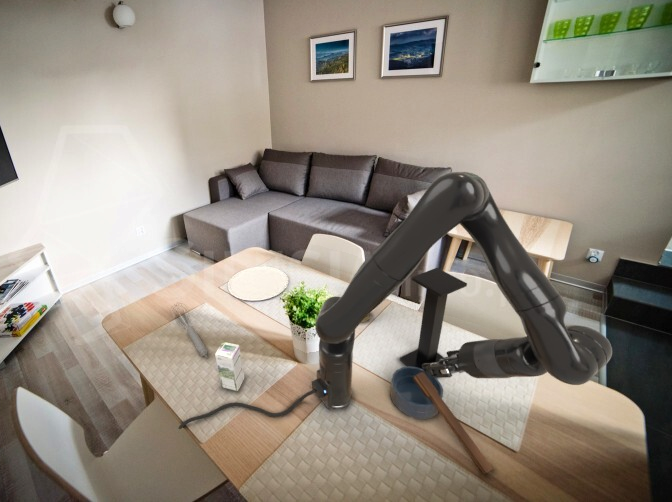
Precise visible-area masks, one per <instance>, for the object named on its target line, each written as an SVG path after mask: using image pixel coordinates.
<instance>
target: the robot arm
mask: <svg viewBox="0 0 672 502" xmlns="http://www.w3.org/2000/svg"><path fill="white" fill-rule="evenodd" d="M459 225H460V226H461V227H462V228H463V229H464V230H465V231H466V232H467V234H468V235H469V236H470V237H471V239H472V240H473V242H474V243H475V244H476V247H477V248H478V249H479V251H480V253H481V255H482V257H483V259H484V262H485V263H486V266H487V268H488V270H489V272H490V275H491V277H492V278H493V281H494V283H495V284H496V286H497V288H498V289H499V291H500V292H501V294H502V295H503V297H504V298H505V299H506V301H507V303H508V304H509V305H510V307H511V308H512V309H513V311H514V312H515V313H516V315H517V316H518V317H519V319H520V321H521V325H522V328H523V331H524V333H525V335H526V336H518V337H508V338H489V339H481V340H473V341H466V342H464V343H463V344H462V345H461V346H460V348H459V349H454V350H448V351H446V355H447V356H445V357H444V358H441V359H440V360H439V362H435V363H424V364H422V368H423V370H424V372H425V373H429V374H430V376H431V378H437V379H442V378H443V379H444V378H445V379H446V378H451V377H453V374H456V373H459V374H461V373H466V374H467V375H469V376H470V377H472V378H475V379H510V378H534V377H540V376H543V375H545V374H548V375H550V376H551V377H552V378H554V379H556V380H557V381H559V382H562V383H564V384H567V385H571V386H580V385H585V384H586V383H588V382H590V381H591V380H592V379H593V378H594V377H595V376H596V375H597V374H598V373H599V372H600V371H601V370H602V369H603V368H604V367H605V366H606V365H607V364H608V363H609V361H610V360H611V358H612V356H613V347H612V344H611V342H610V340H609V339H608V338H607V337H606V336H605V335H603V333H602V332H600V331H598V330H597V329H593V328H591V327H588V326H584V325H578V324H567V325H566V323H565V317H566V315H567V313H568V304H567V302H566V300H565V299H564V298H563V296H562V295H561V294H560V293H559V291H558V290H557V288H556V287H555V286H554V284H553V283H552V282H551V281H550V279H549V278H548V276H547V275H546V274H545V273H544V271H543V270H542V269H541V268H540V267H539V265H538V264H537V263H536V261H535V260H534V259H533V257H532V256H531V255H530V254H529V252H528V251H527V250H526V249H525V247H524V246H523V244H522V243H521V242H520V240H519V239H518V238H517V237H516V235H515V233H514V232H513V230H512V229H511V228H510V226H509V225H508V223H507V221H506V220H505V218H504V216H503V213H501V211H500V209H499V207H498V205H497V203H496V201H495V199H494V197H493V194H492V193H491V191H490V189H489V187H488V184H487V183H486V181H485V180H484V179H483V178H482V177H481V176H479V175H478V174H475V173H474V172H468V171H451V172H447V173H444V174H441V175H440V176H438V177H436V179H434V180H433V182H431V184H430V185H429V186H428V188H427V189H426V190H425V191H424V193H423V194H422V196H421V197H420V198H419V200H418V201H417V203H416V204H415V206H414V207H413V208H412V209H411V210H410V212H409V214H408V215H407V216H406V218H405V219H404V220H403V221H402V222H401V223H400V224H399V225H398V227H396V228H395V229H394V230H392V232H390V234H389V235H387V237H386V238H385V239H383V240H382V242H381V243H380V244H379V245H378V246H377V247H376V248H375V249H374V250H373V251H372V252H371V253H370V254H369V256H368V257H367V258H366V259H365V260H364V261H363V262H362V263H361V265H360V266H359V268H358V269H357V271H356V272H355V273H354V275H353V277H352V279H351V281H349V284H348V285H347V288H346V289H345V291H344V292H343V294H342V295H341V296H339V295H338V296H330V297H329V298H326V300H324V302H323V303H322V305H321V307H320V309H319V312H318V314H317V315H316V319H315V324H314V325H315V327H314V328H315V332H316V334H317V337H318V338H319V341H318V367H319V368H318V369H317V370H316V379H314V380H311V382H310V383H311V390H309V391H307V392H306V393H304V394H303V395H301V397H299V398H298V399H297V400H296V401H295V402H293V403H292V404H291V405H290V406H289V407H288V408H287V409H285V410H284V411H281V412H270V411H267V410H266V409H263V408H261V407H258V406H254V405H253V406H252V405H249V404H248V403H247V404H246V403H243V402H228V403H225V404H223V405H221V406H219V407H217V408H215V409H213V410H211V411H209V412H206V413H204V414H200V415H196V416H193V417H189V418H188V419H186V420H184V421H183V422H181V423H180V425H179V426H178V429H179V430H182V429H183V428H184V427H185V426H186V425H188V424H190V423H192V422H195V421H198V420H203V419H207V418H208V417H211V416H213V415H215V414H217V413H218V412H220V411H222V410H224V409H226V408H230V407H241V408H245V409H248V410H252V411H256V412H259V413H261V414H264V415H266V416H269V417H273V418H278V417H283V416H285V415H287V414H288V413H290V412H292V410H294V409H295V407H297V406H298V405H299V404H300V403H302V401H303V400H305V399H306V398H308V397H309V396H312V395H313V394H315V396H316V397H317V399H319V400H321V401H322V402H323V404H324V405H325V407H326V408H327V409H328V410H330V409H343V408H346V407H347V406H348V405H349V404H350V403H351V401H352V397H353V394H352V393H353V392H352V388H353V387H352V386H353V360H354V359H353V358H354V357H353V356H354V344H355V338H356V329H357V328H358V326H359V325H360V324H361V323H363V322H362V320H363V319H364V318H365V317H366V316H367V315H368V314H369V313H372V312H373V311H375V310H376V308H377V307H379V306H380V305H381V304H382V303H383V302H384V301H385V300H386V299H388V297H390V296H391V295H392V294H393V293H395V291H397V290H398V289H399V288H400V287H401V286H402V285H403V284H404V283H405V282H406V281H407V280H408V279H409V278H410V277H412V275H413V273H415V271H416V270H417V269H418V267H419V266H420V264H421V262H422V261H423V260H424V258H425V256H426V255H427V253H428V252H429V251H430V250H431V248H432V247H433V246H434V245H435V244H436V243H438V242H439V241H440V240H441V239H442V238H443V237H445V236H446V235H447V234H448V233H450V232H451V231H452V230H453V229H455V228H456V227H458V226H459ZM444 361H448V364H449V366H447V364H445V362H444Z"/></svg>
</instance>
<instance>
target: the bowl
mask: <svg viewBox="0 0 672 502" xmlns="http://www.w3.org/2000/svg"><path fill="white" fill-rule="evenodd" d="M421 372H422V373H423V372H424V370H423V369H421V368H418V367H412V366H401V367H400V368H397V369H396V370H395V371H394V372H393V373H392V376H391V380H390V390H389V392H390V393H389V394H390V398H391V400H392V402H393V404H394V406H395V407H396V408H397V409H398V410H399V411H400V412H402V413H403V414H405V415H406V416H407V417H408V416H409V417H411V418H414V419H418V420H427V419H432V418H434V417H435V416H437V415H438V413H440V412H439V411H438V410H437V408H436V407H435V405H434V404H433V403H432V401H431V400H430V398H429V397H428V398H426V397H425V395H424V394H423V392H422V391H421V389H420V388H419V387H418V385H417V384H416V382H415V381H414V380H413V378H414V377H415V375H417V374H419V373H421ZM424 373H425V372H424ZM425 375H426V376H427V377H428V379H429V380H430V381H431V383H432V384H433V385H434V387H435V388H436V389H437V391H438V392H437V393H438V394H439V396H440V397H441V398H442V399H443V397H444V389H443V385H442V383H441V382H440V381H439V378H431V376H430V374H429V373H425Z"/></svg>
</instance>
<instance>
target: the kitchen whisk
mask: <svg viewBox="0 0 672 502" xmlns="http://www.w3.org/2000/svg"><path fill="white" fill-rule="evenodd" d="M179 304H180V307H182V309H186V310H183V311H184V314H185V315H184V314H183V313H182V311H181V309H180V308H179ZM174 309H175V310H176V312H178V313H179V315H180V317H181V319H182V320H183V321H184V323H181V320H180V319H178V323H181V324H180V326H181V327H182V328H184V330H185V329H186V332H187V334H188V336H189V338H190V340H191V341H192V343H193V345H194V346H195V347H196V349H197V352H198V353H199V355H200V356H201V357H205V358H206V359H207V358H208V355H207V354H208V349H207V348H206V346H205V343H203V341H202V339H201V338H200V336H199V334H198V333H197V331H196V329H195V328H194V327H193V325H192V324H191V323H190V322H192V319H191V314H190V311H189V310H188V307H187V305H185V304H184V306H183V303H182V302H181V303H180V302H179V301H178V302H177V304H173V305H172V306H171V308H170V311H171V315H172V316H173V317H176V316H178V314H177V313H175V314H176V316H175V314H174V312H173V311H174ZM178 310H179V311H180V312H179V311H178ZM186 312H187V313H186ZM187 314H188V316H187ZM185 316H186V317H185ZM183 317H185V318H186V319H185V318H183ZM188 317H189V319H188ZM184 319H185V320H184ZM189 320H190V321H189ZM185 321H186V322H185Z"/></svg>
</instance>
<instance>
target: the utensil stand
mask: <svg viewBox="0 0 672 502" xmlns="http://www.w3.org/2000/svg"><path fill="white" fill-rule="evenodd" d="M411 281H413V282H414V283H416V284H418V285H419V286H421V287H422V288H424V289H426V290H425V295H424V303H423V311H422V318H421V324H420V331H419V338H418V345H417V349H414V350H412V351H411V352H409V353H407V354H405V355H402V356H400V357H399V361H400V362H401V363H402V364H403V365H404V366H405V367H407V366H412V367H418V368H421V369H423V368H422V364H424V363H435V362H439V360H440V359H441V358H445V357H444V356H442V355H441V354H440V353H438V351H439V344H440V339H441V335H442V330H443V329H442V328H443V322H444V317H445V312H446V305H447V300H448V295H449V294H452V293H455V292H457V291H459V290H461V289H463V288H466V287H467V286H468V283H467V282H465V281H464V280H462V279H460V278H457V277H456V276H453V275H452V274H450V273H448V272H446V271H445V270H442V269H440V268H438V267H435V268H432V269H429V270H426V271H424V272H421V273H419V274H416V275H414V276H411ZM444 362H445V364H447V366H449V364H448V360H447V361H444Z"/></svg>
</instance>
